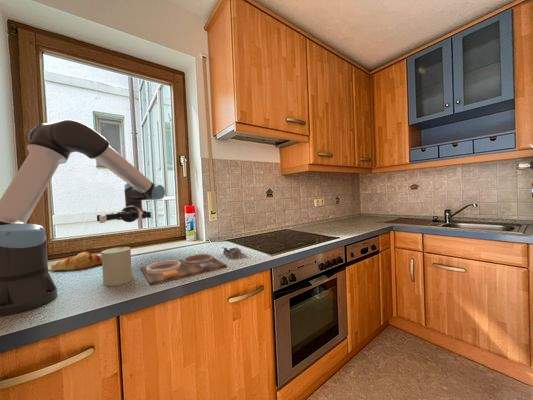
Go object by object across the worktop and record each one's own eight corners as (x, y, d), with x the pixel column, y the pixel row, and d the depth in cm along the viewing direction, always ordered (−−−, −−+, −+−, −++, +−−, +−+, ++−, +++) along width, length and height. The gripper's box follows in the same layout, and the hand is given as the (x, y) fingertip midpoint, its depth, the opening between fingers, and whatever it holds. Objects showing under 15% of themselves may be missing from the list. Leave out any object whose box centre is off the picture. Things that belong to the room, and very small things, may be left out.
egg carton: (222, 254, 117) (222, 246, 117) (236, 252, 120) (236, 244, 120) (227, 260, 108) (226, 251, 108) (242, 257, 111) (242, 249, 110)
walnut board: (150, 285, 80) (149, 278, 80) (140, 269, 97) (140, 263, 97) (226, 266, 97) (226, 260, 97) (207, 256, 114) (206, 251, 114)
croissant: (49, 281, 97) (44, 267, 93) (55, 264, 104) (50, 250, 101) (110, 270, 107) (108, 257, 103) (111, 255, 114) (109, 243, 111)
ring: (152, 280, 81) (152, 276, 81) (144, 268, 96) (144, 264, 96) (188, 272, 89) (188, 268, 89) (175, 261, 103) (175, 258, 103)
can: (137, 275, 90) (135, 245, 89) (123, 285, 81) (121, 251, 80) (113, 276, 90) (111, 246, 89) (96, 286, 80) (94, 252, 80)
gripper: (159, 219, 118) (155, 224, 98) (100, 223, 109) (83, 230, 89) (158, 204, 117) (154, 207, 98) (99, 207, 108) (82, 211, 89)
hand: (120, 218), depth 93 cm, fingers open, 13 cm apart
